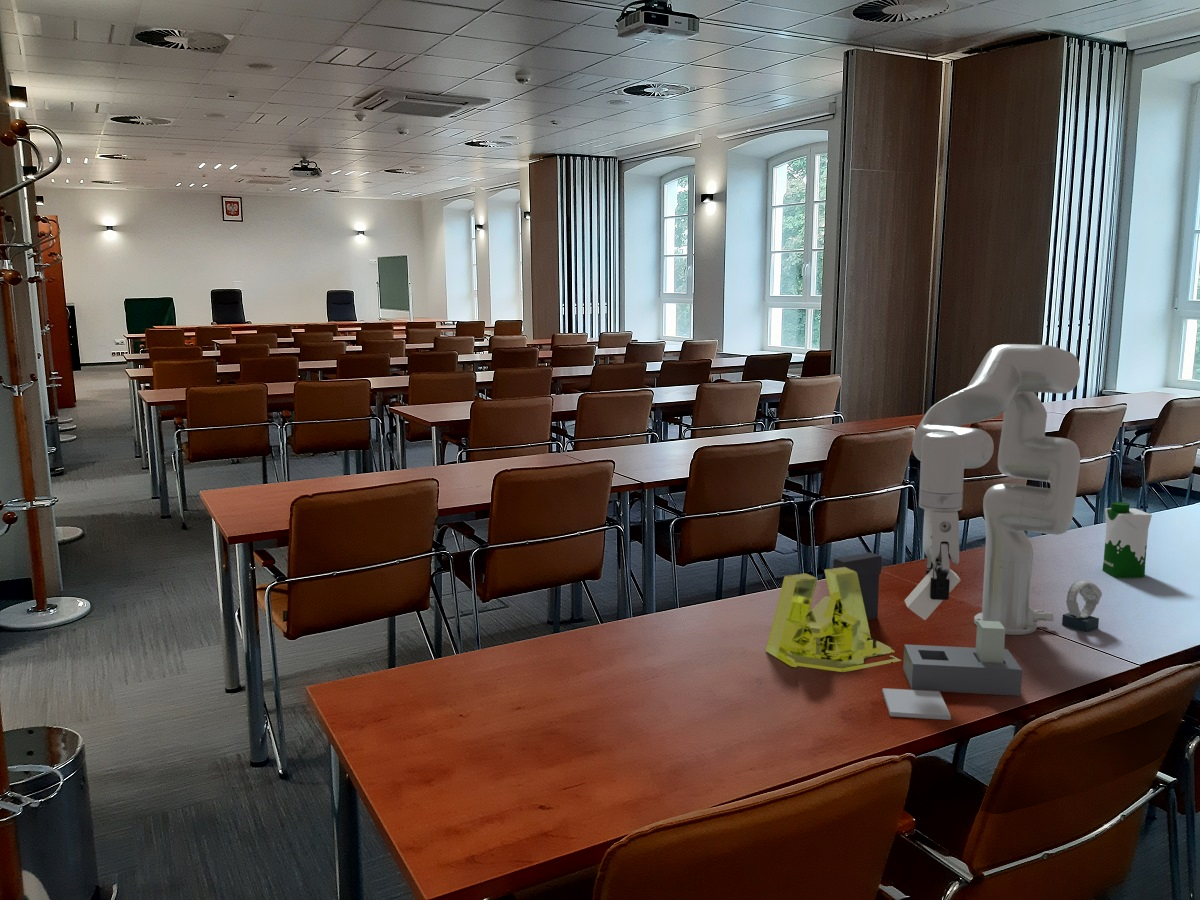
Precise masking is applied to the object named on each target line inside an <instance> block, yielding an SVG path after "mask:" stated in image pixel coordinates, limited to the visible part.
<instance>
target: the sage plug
mask: <svg viewBox="0 0 1200 900" xmlns="http://www.w3.org/2000/svg"><path fill="white" fill-rule="evenodd" d="M975 635H976V637H975V648H976V653H975V657H976V659H977V660H978V662H986V663H1003V660H1004V649H1005V641H1006V640H1005V639H1006V634H1005V628H1004V626H1003V625H1002V624H1001V623H1000V622H999V621H977V625H976V634H975Z"/></svg>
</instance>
